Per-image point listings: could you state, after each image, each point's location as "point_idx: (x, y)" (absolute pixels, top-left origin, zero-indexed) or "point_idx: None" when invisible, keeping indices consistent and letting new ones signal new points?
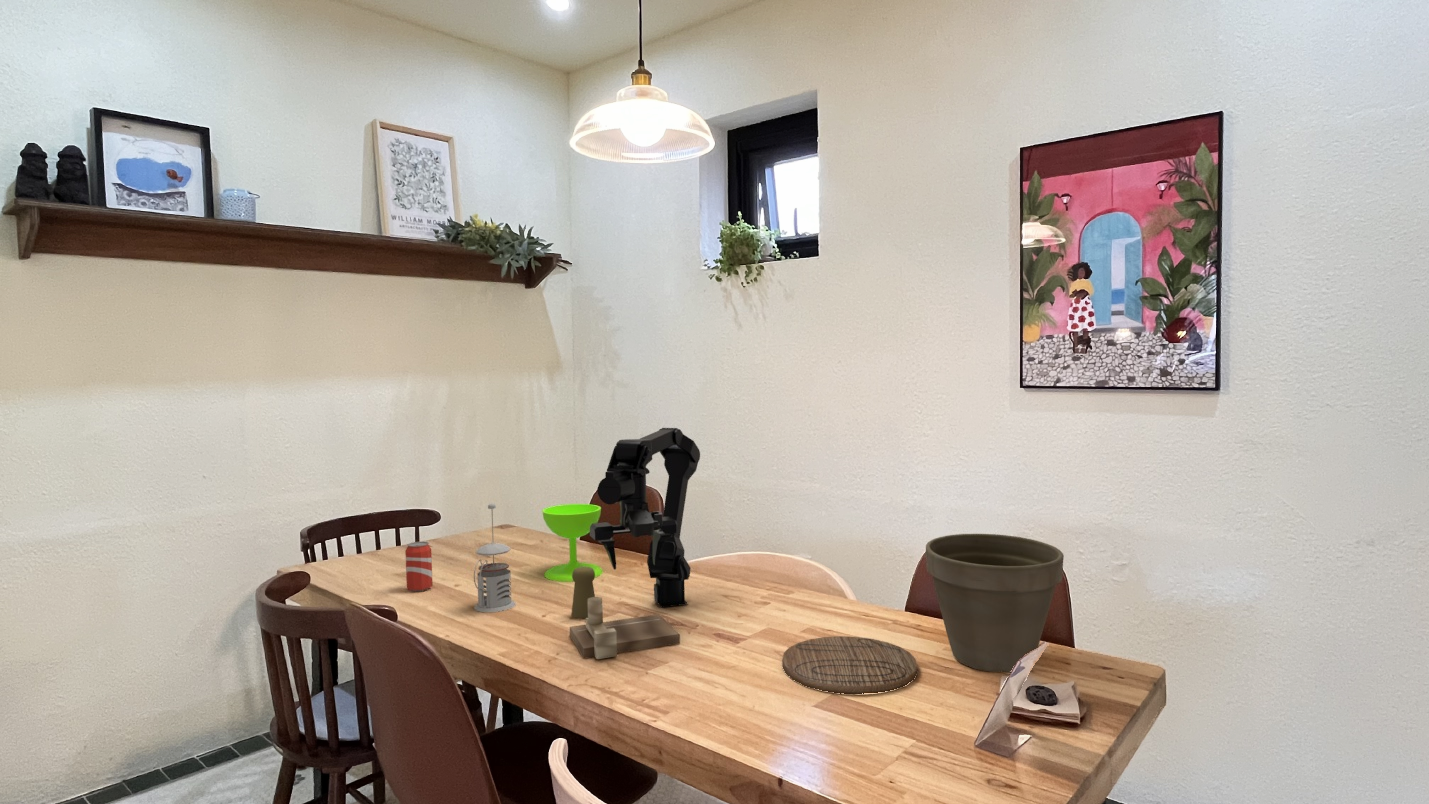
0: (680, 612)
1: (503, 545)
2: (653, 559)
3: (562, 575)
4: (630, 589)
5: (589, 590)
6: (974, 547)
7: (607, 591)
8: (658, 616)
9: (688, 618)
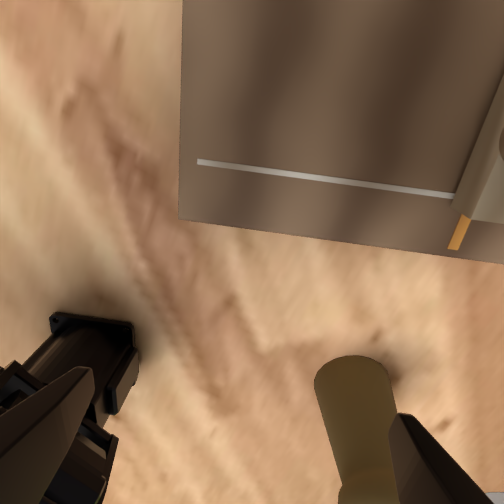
0: (91, 263)
1: None
2: (75, 418)
3: None
4: (166, 468)
5: (366, 436)
6: None
7: (221, 481)
8: (189, 196)
9: (80, 198)
